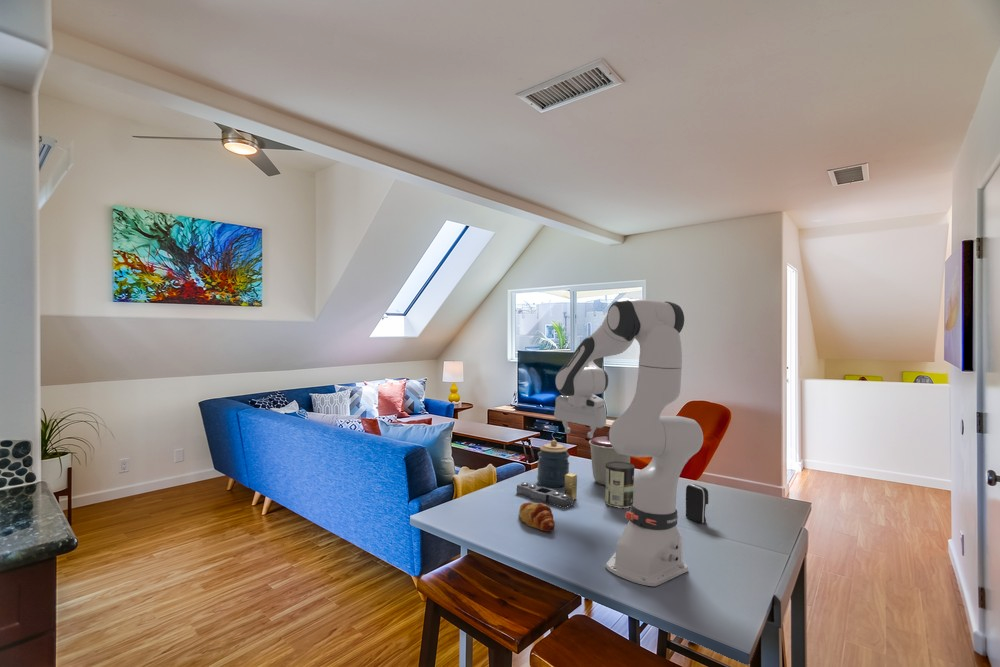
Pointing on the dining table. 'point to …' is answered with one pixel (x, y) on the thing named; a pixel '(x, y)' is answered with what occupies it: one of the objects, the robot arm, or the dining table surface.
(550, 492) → the silver studded bar
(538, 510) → the croissant
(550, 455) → the canister
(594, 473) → the canister
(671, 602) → the dining table surface
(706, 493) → the battery charger
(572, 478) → the gold rectangular block
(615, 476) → the coffee can
